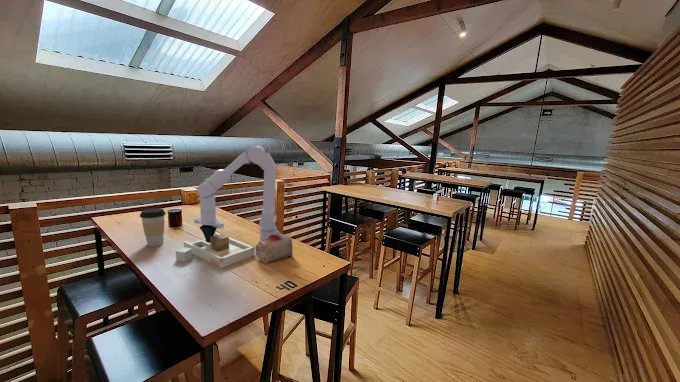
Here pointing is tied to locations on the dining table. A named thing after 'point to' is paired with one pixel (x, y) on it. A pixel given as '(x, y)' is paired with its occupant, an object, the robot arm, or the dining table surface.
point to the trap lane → (221, 252)
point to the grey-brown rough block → (274, 248)
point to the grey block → (184, 254)
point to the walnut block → (219, 242)
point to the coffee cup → (153, 225)
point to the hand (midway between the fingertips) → (209, 241)
